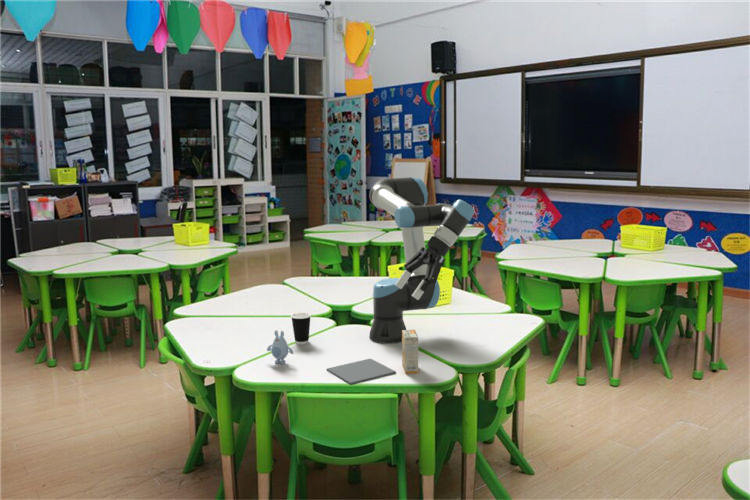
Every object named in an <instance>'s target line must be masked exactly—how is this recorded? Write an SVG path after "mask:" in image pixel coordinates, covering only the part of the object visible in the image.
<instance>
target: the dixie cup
mask: <svg viewBox="0 0 750 500" xmlns="http://www.w3.org/2000/svg"><path fill="white" fill-rule="evenodd" d="M311 317H312V314H310V313H309V312H296V313H292V314H291V315H290V318H291V321H292V322H291V323H292V329H293V335H294V342H295V344H297V345H306V344H308V343H309V340H310V339H309V338H310V328H311V327H310V326H311Z"/></svg>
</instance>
